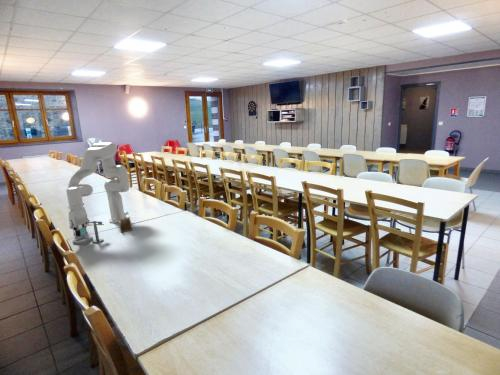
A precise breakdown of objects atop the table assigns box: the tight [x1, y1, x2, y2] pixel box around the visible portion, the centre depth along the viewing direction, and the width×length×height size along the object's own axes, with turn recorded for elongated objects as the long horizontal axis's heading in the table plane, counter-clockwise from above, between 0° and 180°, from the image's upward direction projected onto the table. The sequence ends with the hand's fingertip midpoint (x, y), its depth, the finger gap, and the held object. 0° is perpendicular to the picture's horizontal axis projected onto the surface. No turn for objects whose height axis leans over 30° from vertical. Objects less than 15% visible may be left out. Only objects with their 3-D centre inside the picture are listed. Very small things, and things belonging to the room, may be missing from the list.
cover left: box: [118, 217, 133, 234], centre depth 209 cm, size 7×7×7 cm
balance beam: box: [84, 220, 105, 227], centre depth 189 cm, size 4×13×2 cm, turn 161°
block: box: [79, 227, 88, 236], centre depth 191 cm, size 4×4×4 cm
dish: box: [72, 236, 94, 246], centre depth 193 cm, size 8×8×2 cm
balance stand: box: [91, 223, 104, 244], centre depth 190 cm, size 5×4×12 cm
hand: (81, 234), depth 192 cm, fingers closed on block, 4 cm apart
